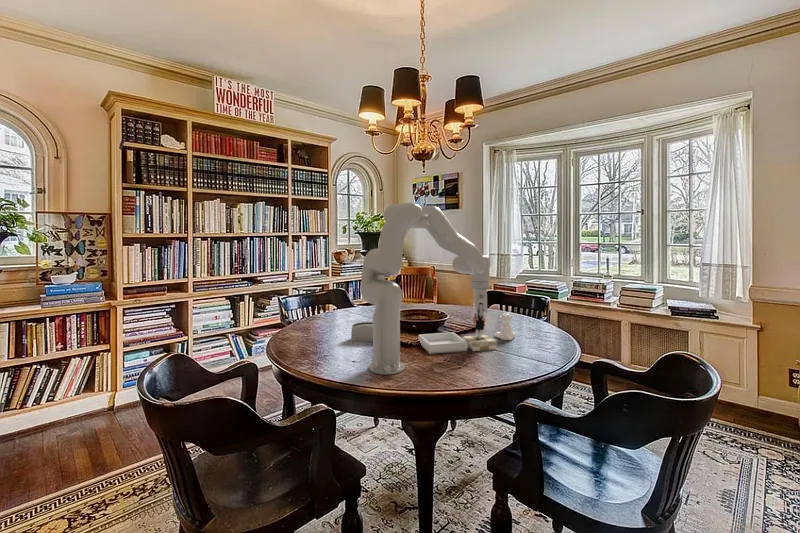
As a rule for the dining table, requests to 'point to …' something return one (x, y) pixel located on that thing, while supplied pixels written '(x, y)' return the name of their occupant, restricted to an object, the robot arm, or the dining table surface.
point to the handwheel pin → (478, 332)
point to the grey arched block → (362, 331)
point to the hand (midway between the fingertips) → (478, 327)
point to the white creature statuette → (505, 328)
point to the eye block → (480, 343)
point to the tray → (442, 342)
